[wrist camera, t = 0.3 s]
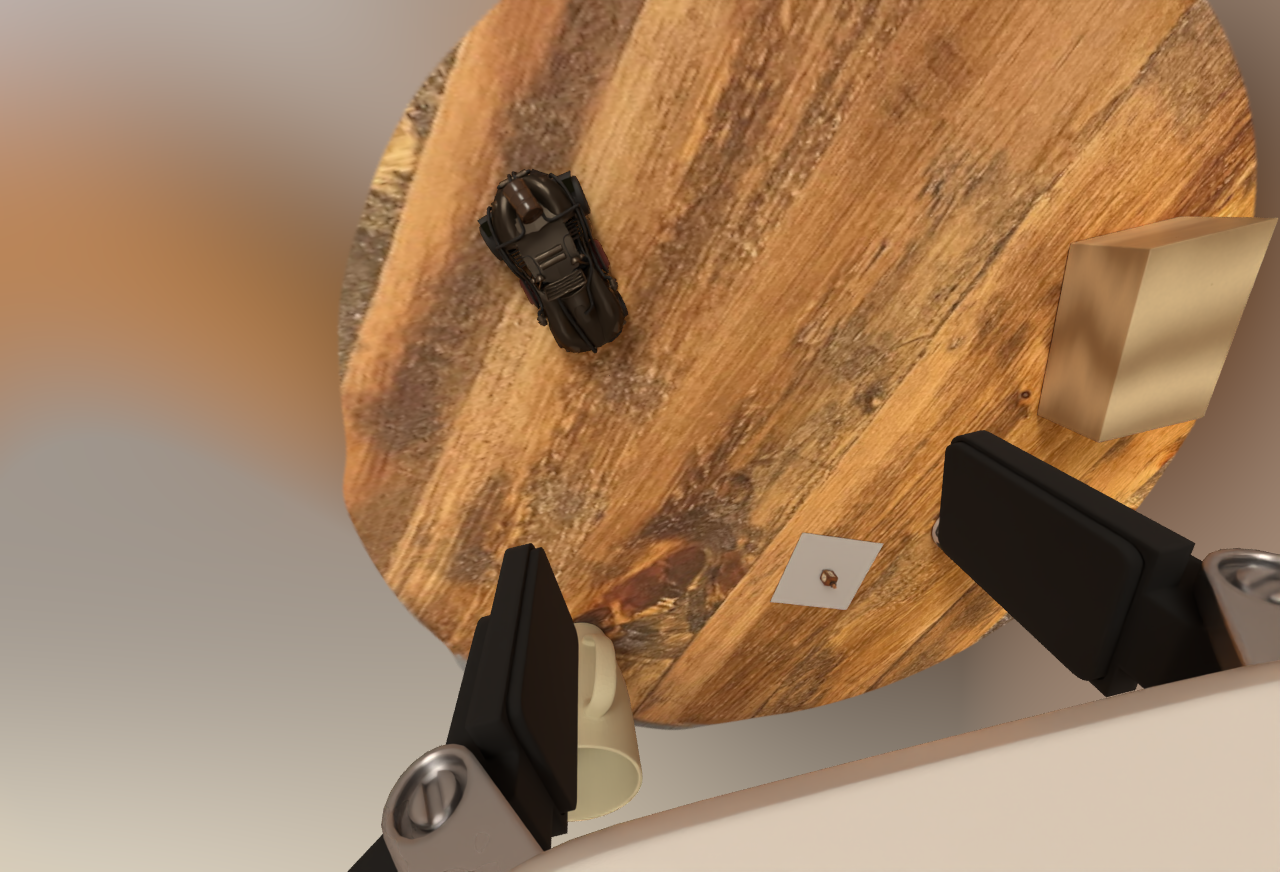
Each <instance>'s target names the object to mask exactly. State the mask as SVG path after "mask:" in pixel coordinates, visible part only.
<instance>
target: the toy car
mask: <svg viewBox="0 0 1280 872" xmlns="http://www.w3.org/2000/svg"><path fill="white" fill-rule="evenodd" d="M528 174H530V175H528ZM507 177H508V178H507V179H506V180H504V181H502V182H500V183H499V184H500V185H499V186H498V187H497V189H498V190H497V194H496V196H495V198H494V202H492V203H491V205H493V206H492V207H490V206H489V207H488V208H487V215H486V216H484V217H482V218H481V219H479V220H478V222H479V223H480V227H479V229H480V233H481V235H482V237H483V239H484V241H485V242H486V244H487V246H488V247H489V249H490V250H491V251H492V253H493V254H494V255H495V256H496V257H497V258H498V259H499V260H504V262H505V263H506V264H507V266H508V267H509V268H510V269H511V271H512V272H513V273H514V274H515V275H516V276H517V277H518V278H520V279H519V282H520V284H521V287H522V288H523V290H524V292H525V294H526V296H527V298H528V300H529V301H530V303H531V304H532V305H533V304H534V305H535V306H536V307H537V308H538V309H539V308H541V310H540V311H538V318H537V320H538V321H539V322H538V323H539V324H540V325H542V326H546V325H547V320H546V318H548V321H549V327H550V330H551V332H552V334H553V336H554V338H555V340H556V342H557V343H558V345H559V347H561V348H565V349H566V352H573V353H580V352H586V351H590V350H592V351H593V352H594V353H597V348H598V347H601V346H602V345H604V344H606V343H608V342H612V341H613V340H614V339H615V338H617V337H618V336H619V335H620V333H621V332H622V327H623V325H624V324H626V322H627V321H626V320H624V319H623V318H625V316H627V315H628V311H627V308H626V305H625V303H624V301H623V299H622V297H621V295H620V294H619V292H618V291H617V288H618V285H617V284H618V282H616V279H613V278H612V277H611V276H606V275H605V274H607V273H609V270H608V269H609V267H608V266H609V265H610V263H609V260H608V258H607V256H606V254H605V252H604V250H603V248H602V245H601V244H600V242H599V241H598V240H597V239H593V237H592V227H591V223H590V219H589V217H588V218H586V217H585V216H587V215H589V214H590V208H589V205H588V203H587V200H586V198H585V195H584V193H583V190H582V188H581V186H580V183H579V181H578V179H577V178H576V176H572V177H571V175H570V171H568V172H566V173H564V174H561V175H559V176H557V177H556V176H555V175H554V174H552V173H550V174H549V175H548V174H545V173H542V172H539V171H536V170H534V169H532V171H531V170H525V169H524V170H522V171H520V172H518V173H517V172H514V171H513V172H512V176H511V175H510V174H508V175H507ZM552 178H553V179H552ZM490 210H492V212H490ZM569 219H572V221H570V222H568V221H567V220H569ZM574 221H577V222H576V223H575V222H574ZM573 222H574V223H573ZM579 222H580V223H579ZM576 224H577V225H578V226H576ZM580 225H581V226H580ZM577 228H579V230H578V231H577ZM581 228H582V230H581ZM582 231H583V233H582ZM578 232H580V235H579V234H578ZM580 237H581V238H582V240H581V238H580ZM589 239H590V241H589ZM516 249H517V250H516ZM518 251H519V253H517V254H515V255H513V256H512V254H514V253H516V252H518ZM519 254H520V255H521V256H520V257H518V258H516V259H514V258H513V257H515V256H517V255H519ZM511 259H512V260H513V261H514V262H513V261H512V260H511ZM518 259H522V260H520V261H519V262H517V261H516V260H518ZM523 261H524V262H525V264H523V265H521V266H520V265H519V263H521V262H523ZM514 263H515V264H516V265H517V266H518V267H519V268H520V269H521V270H520V269H519V268H518V267H517V266H516V265H515V264H514ZM525 265H526V266H527V268H528V269H529V270H530V272H531V273H532V276H534V278H533V279H531V278H532V277H531V278H530V276H529V275H528V274H527V273H526V272H525V270H524V269H523V268H522V267H523V266H525ZM602 269H603V270H604V271H605V272H606V273H603V271H602ZM606 279H608V281H609V283H610V285H609V283H608V281H607V280H606ZM603 281H604V282H603ZM536 282H537V284H538V285H539V288H537V287H536V285H535V284H534V283H536ZM605 284H606V285H605ZM608 288H609V289H608ZM539 304H540V306H539ZM543 307H544V308H543ZM541 314H542V315H541ZM609 376H610V375H609Z"/></svg>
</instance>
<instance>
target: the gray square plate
mask: <svg viewBox="0 0 1280 872" xmlns="http://www.w3.org/2000/svg"><path fill="white" fill-rule="evenodd" d="M882 545H883V544H881V543H874V542H866V541H859V540H852V539H845V538H837V537H830V536H823V535H816V534H809V533H802V535H801V537H800V539H799V541H798V544H797V546H796V548H795V550H794V552H793V554H792V556H791V559H790V561H789V563H788V565H787V567H786V569H785V571H784V574H783V576H782V578H781V580H780V582H779V584H778V586H777V589H776V591H775V593H774V595H773V597H772V599H771V601H770V602H777V603H787V604H796V605H806V606H815V607H825V608H834V609H844V610H846V609H847V608H848V606H849V604H850V602H851V601H852V599H853V597H854V595H855V593H856V592H857V590H858V588H859V586H860V584H861V583H862V581H863V579H864V577H865V576H866V574H867V572H868V570H869V568H870V567H871V565H872V563H873V561H874V560H875V558H876V556H877V554H878V552H879V551H880V549H881V547H882Z"/></svg>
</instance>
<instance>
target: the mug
mask: <svg viewBox="0 0 1280 872" xmlns="http://www.w3.org/2000/svg"><path fill="white" fill-rule="evenodd" d="M574 625H575V628H576V631H577V635H578V642H579V665H578V765H577V805H576V809H575V810H573V811H569V812H568V822H570V821H571V822H573V821H583V820H590V819H593V818H598V817H601V816H604V815H606V814H609V813H612V812H614V811H616V810H618V809H619V808H621V807H623V806H624V805H626V804H627V803H628V802H630V801H631V800H632V798H633V797H634V796H635V795H636V794H637V793H638V791H639V789H640V787H641V784H642V769H641V764H640V757H639V751H638V745H637V738H636V732H635V726H634V720H633V714H632V708H631V703H630V698H629V694H628V690H627V686H626V683H625V680H624V678H623V675H622V672H621V670H620V668H619V666H618V663H617V661H616V657H615V650H614V646H613V643H612V641H611V640H610V639H609V638H608V637H607V636H605V634H604V633H603V631H602V630H601V629H600V628H598V627H597V626H595V625H592V624H589V623H574Z"/></svg>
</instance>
